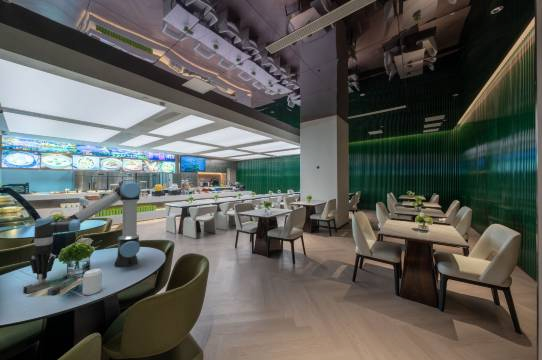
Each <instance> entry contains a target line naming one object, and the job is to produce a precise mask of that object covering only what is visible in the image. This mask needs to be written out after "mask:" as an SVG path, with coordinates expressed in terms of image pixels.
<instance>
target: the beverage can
mask: <svg viewBox="0 0 542 360" xmlns="http://www.w3.org/2000/svg"><path fill="white" fill-rule="evenodd" d="M102 275H103V272H102V269H101V268H92V269H89V270H86V271H85V272H84V274H83V275H82V278H83V282H82V294H84V296H91V295H95V294H98V293H99V292H100V291H101V290H102V280H103V279H102V277H103V276H102Z"/></svg>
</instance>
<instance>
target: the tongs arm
mask: <svg viewBox="0 0 542 360" xmlns="http://www.w3.org/2000/svg"><path fill="white" fill-rule="evenodd" d="M72 275H75V276H77V273H76V272H70V273H67V274H63V276H58V277H55V278H51V279H48V280H45V282H42V283H35V284H29V285H26V286H25V285H24V286H23V288H22V290H23V291H22V293H24V294H32V293H34V292H36V291H38V290H41V289H44V288H47V287H51V286H54V285H57V284H59V283H61V282H63V281H65V280H66V279H68V278H69V276H72Z"/></svg>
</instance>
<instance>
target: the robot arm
mask: <svg viewBox="0 0 542 360" xmlns="http://www.w3.org/2000/svg"><path fill="white" fill-rule="evenodd" d="M141 191H142V190H141V185H140V184H139V183H138V182H136V181H125V182H123V183H122V184H121V185H119V186H118V187H116V188H114V189H113V190H112V192H111V193H109V194H107V195H106V196H104V197H102V198H100V199H98V200H96V201H95V202H92V203H91V204H90V205H87V206H85V207H84V208H82V209H80V210H79V211H77V212H76V213H74V214H72V215H70V216H68V217H66V218H64V219H63V220H60V219H59V220H55V219H54V217H41V218H37V219H36V220H35V223H34V236H33V237H34V238H33V255H32V256H29V257H28V258H27V259H28V260H29V261H30V266H31V270H32V274H36V279H37V280H38V281H37V282H38V283H42V282H45V281H46V279H47V278H48V273H49V272H52V270H53V266H54V262H55V261H56V258H57V257H58V254H53V248H54V247H53V245H54V244H53V243H54V234H58V233H60V234H61V233H70V232H71V233H72V232H79V231H80V230H81V224H83V223H84V222H86V221H88V220H89V219H91V218H92V217H95V216H96V215H97V214H99V213H101V212H102V211H104V210H105V209H106V210H107V208H109V207H111V206H113V205H114V204H116V203H117V202H119V201H120V202H122V230H121V232H122V234H121V235H120V236H118V238H117V257H116V260H115V262H114V265H113V266H114V268H127V267H128V268H129V267H131V266H135V264H137V263H138V264H139V259H138V256H137V254H138V253H139V251H140V250H141V245H140V235H138V234H137V233H138V232H137V231H138V229H137V226H138V220H137V219H138V217H137V216H138V201H140V195H141V194H140V193H141ZM138 264H137V265H138ZM38 283H37V284H38Z"/></svg>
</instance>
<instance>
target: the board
mask: <svg viewBox="0 0 542 360" xmlns="http://www.w3.org/2000/svg"><path fill="white" fill-rule="evenodd" d="M81 283H82V284H83V277H79V278H77V281H76V282H74V283H73V284H71V285H69V286H68V287H66V288H64V289H62V290H61V291H60V293H58V294H57V295H56V296H60V295H64V294H65V293H67V292H68V291H70V290H72V289H73V288H76V287H78V285H80V284H81ZM57 285H58V284H57ZM54 286H56V285H54ZM54 286H51V287H47V288H44V289H41V290H37V291H34V292H31V293H29V295H27V296H25V298H34V297H35V298H36V297H45V296H46V297H47V293H48V289H50V288H52V287H54ZM48 296H50V295H48Z"/></svg>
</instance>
